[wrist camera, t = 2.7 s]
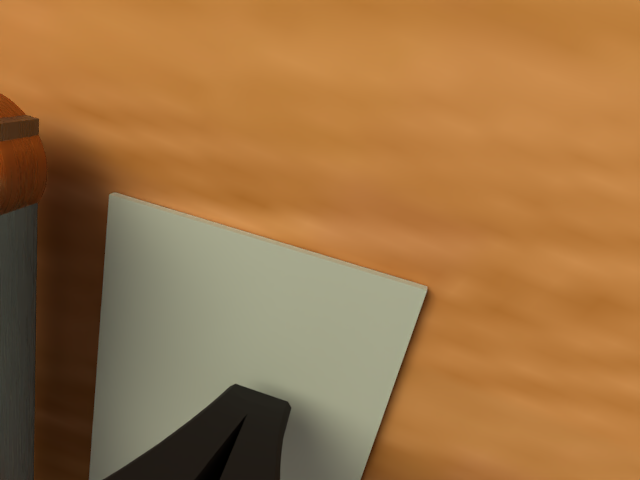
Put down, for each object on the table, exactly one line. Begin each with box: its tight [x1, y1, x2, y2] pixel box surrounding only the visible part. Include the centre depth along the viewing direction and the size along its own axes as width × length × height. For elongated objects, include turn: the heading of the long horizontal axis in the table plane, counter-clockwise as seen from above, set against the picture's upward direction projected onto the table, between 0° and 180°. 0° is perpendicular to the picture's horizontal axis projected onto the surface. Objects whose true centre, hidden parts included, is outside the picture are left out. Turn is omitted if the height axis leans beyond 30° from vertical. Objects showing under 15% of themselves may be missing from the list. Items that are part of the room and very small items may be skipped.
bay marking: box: [89, 192, 427, 480], centre depth 12 cm, size 10×7×1 cm
